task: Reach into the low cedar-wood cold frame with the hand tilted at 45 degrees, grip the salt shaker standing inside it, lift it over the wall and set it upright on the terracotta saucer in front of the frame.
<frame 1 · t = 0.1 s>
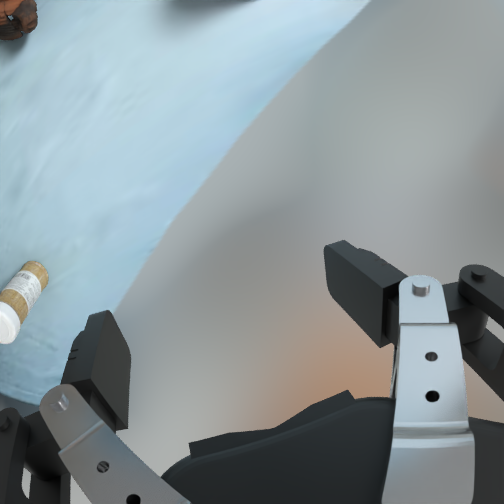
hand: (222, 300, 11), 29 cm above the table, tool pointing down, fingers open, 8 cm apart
sprinkles bottle: (36, 274, 36), on the table
pottery mug: (27, 13, 23), on the table
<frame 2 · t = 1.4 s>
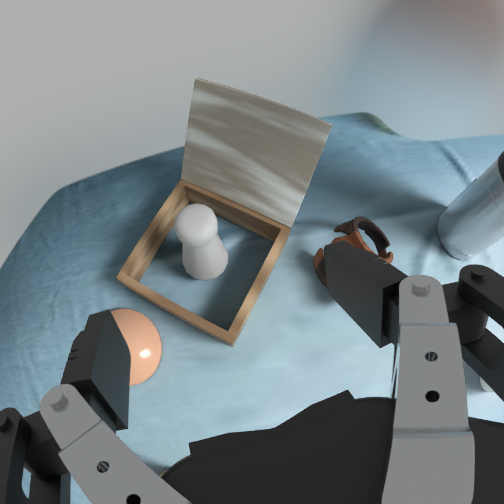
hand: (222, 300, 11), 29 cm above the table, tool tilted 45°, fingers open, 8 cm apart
drinking glass: (490, 374, 37), on the table
terracotta saucer: (125, 347, 37), on the table
salt shaker: (207, 264, 42), resting in cold frame
cold frame: (206, 264, 42), on the table
pottery mug: (347, 271, 42), on the table
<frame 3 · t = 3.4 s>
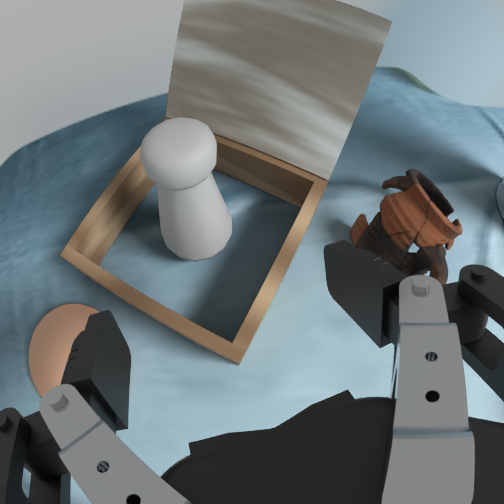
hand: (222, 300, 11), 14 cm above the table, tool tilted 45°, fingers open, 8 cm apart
terracotta saucer: (77, 362, 23), on the table
salt shaker: (199, 239, 28), resting in cold frame
cold frame: (199, 238, 27), on the table
pottery mug: (397, 249, 28), on the table
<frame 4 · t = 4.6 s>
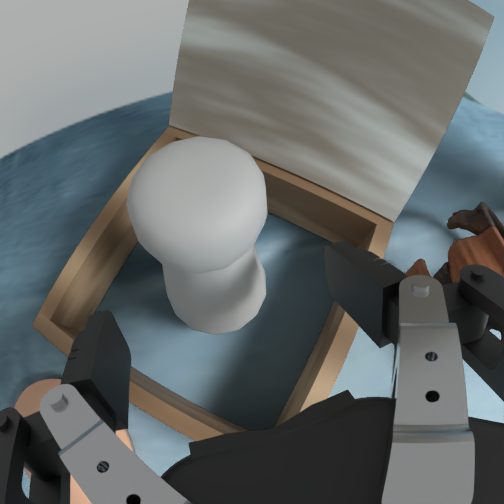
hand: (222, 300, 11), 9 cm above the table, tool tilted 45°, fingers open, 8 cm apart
terracotta saucer: (70, 446, 16), on the table
salt shaker: (218, 295, 21), resting in cold frame
cold frame: (218, 294, 20), on the table
pottery mug: (453, 297, 21), on the table
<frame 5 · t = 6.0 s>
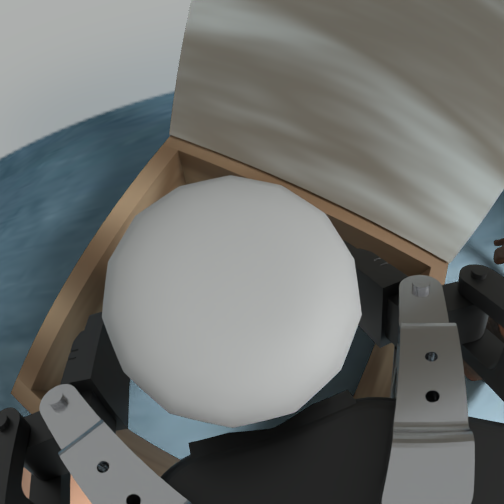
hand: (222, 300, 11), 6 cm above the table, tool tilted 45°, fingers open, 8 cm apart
salt shaker: (235, 350, 16), resting in cold frame
cold frame: (235, 350, 16), on the table
pottery mug: (489, 334, 17), on the table
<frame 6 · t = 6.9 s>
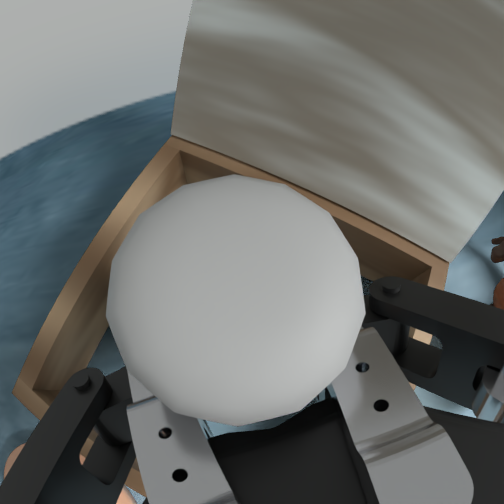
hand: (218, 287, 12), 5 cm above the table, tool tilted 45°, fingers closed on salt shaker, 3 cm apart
salt shaker: (237, 350, 16), resting in cold frame, touching gripper
cold frame: (237, 349, 16), on the table
pottery mug: (487, 333, 17), on the table
when the fingers open (8 cm above the table, at t = 12.1 s): salt shaker drops 1 cm, resting on terracotta saucer.
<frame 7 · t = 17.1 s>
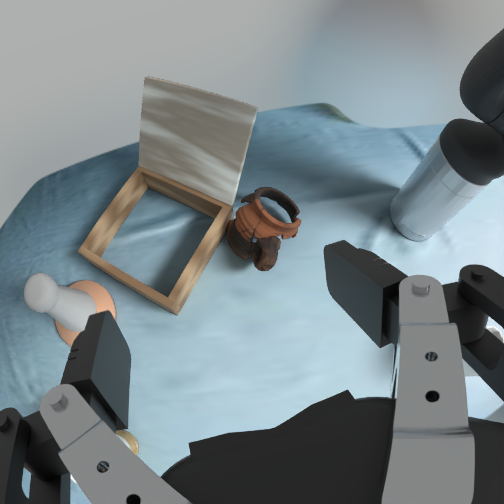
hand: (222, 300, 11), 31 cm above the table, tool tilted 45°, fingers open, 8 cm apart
drinking glass: (449, 359, 40), on the table
terracotta saucer: (85, 315, 40), on the table
salt shaker: (85, 314, 39), point 1 cm above the table, touching terracotta saucer
sprinkles bottle: (124, 444, 34), on the table
cold frame: (159, 241, 45), on the table
pottery mug: (261, 240, 46), on the table
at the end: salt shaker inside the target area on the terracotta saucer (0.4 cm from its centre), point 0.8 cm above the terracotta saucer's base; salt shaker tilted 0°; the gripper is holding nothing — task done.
